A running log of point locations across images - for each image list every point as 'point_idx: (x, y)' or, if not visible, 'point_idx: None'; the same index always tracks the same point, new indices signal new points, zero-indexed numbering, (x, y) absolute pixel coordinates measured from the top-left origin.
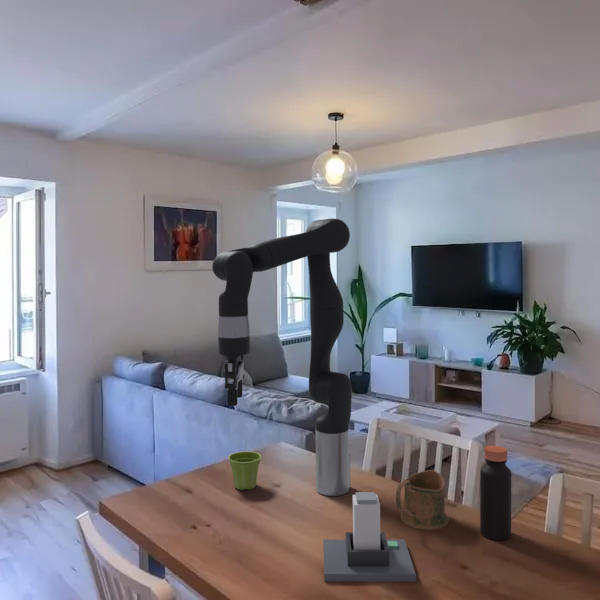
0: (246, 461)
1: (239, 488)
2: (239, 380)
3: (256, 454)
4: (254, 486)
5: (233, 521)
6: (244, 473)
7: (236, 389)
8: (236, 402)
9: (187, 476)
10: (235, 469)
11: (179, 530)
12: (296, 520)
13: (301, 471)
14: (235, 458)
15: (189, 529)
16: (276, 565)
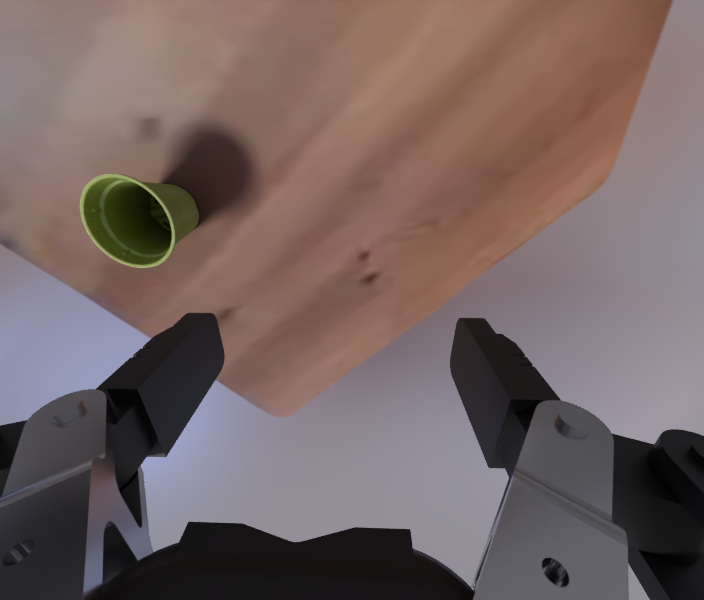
0: (112, 219)
1: (198, 220)
2: (532, 478)
3: (90, 192)
4: (177, 186)
5: (348, 211)
6: (181, 214)
7: (580, 410)
8: (489, 329)
9: (157, 331)
10: (177, 239)
11: (381, 299)
12: (343, 55)
13: (27, 53)
14: (122, 249)
15: (378, 284)
16: (539, 95)
